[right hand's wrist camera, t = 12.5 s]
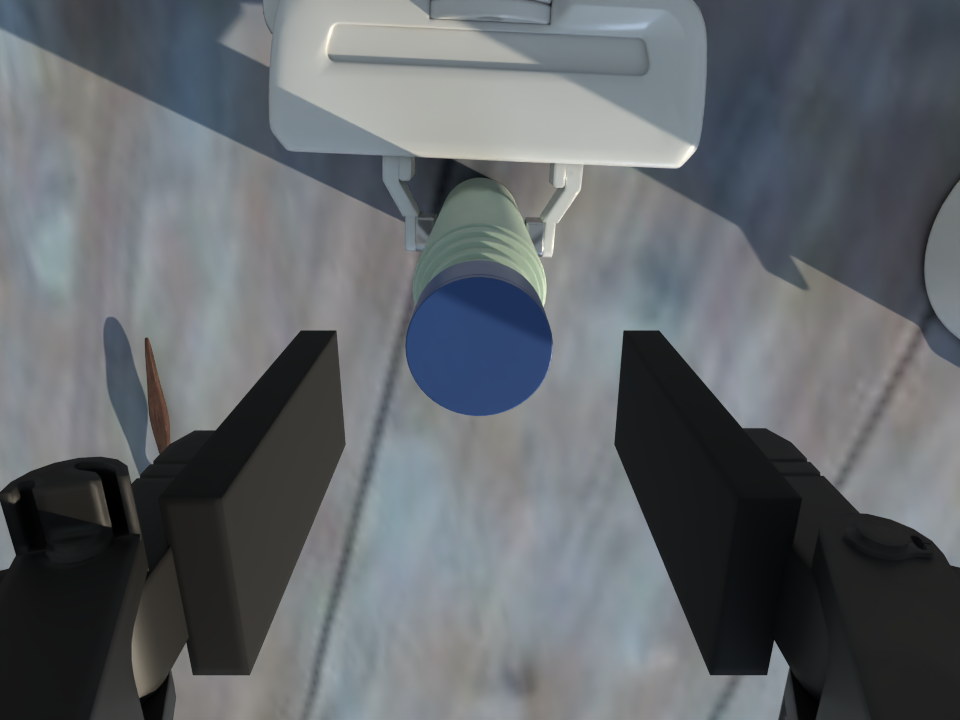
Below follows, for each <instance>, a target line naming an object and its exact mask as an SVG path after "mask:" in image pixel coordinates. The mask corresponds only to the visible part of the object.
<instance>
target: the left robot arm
mask: <svg viewBox="0 0 960 720" xmlns="http://www.w3.org/2000/svg"><path fill="white" fill-rule="evenodd" d="M263 13H264V18H265V21H266V24H267V27H268V29H269V30H270V32H271V34H272V43H271V54H270V68H269V123H270V128H271V131H272V132H273V134H274V135H275V136H276V138H277V139H278V140H279V142H280V143H281V144H282V145H283V146H284V147H285V149H287V150H288V151H295V152H316V153H339V154H361V155H382V172H383V182H384V184H385V186H386V187H387V189H388V191H389V193H390V194H391V196H392V198H393V200H394V202H395V203H396V205H397V207H398V209H399V210H400V212H401V214H402V216H405V248H406V251H422V252H423V250H424V247H425V245H426V243H427V241H428V238H429V236H430V234H431V231H432V229H433V227H434V225H435V222H436V220H437V214H436V213H421V210H420V208H419V207H418V205H417V203H416V201H415V199H414V197H413V195H412V193H411V191H410V189H409V187H408V186H407V184H406V182H405V181H409V180H410V179H412V178H413V177H414V176H415V157H428V158H450V159H473V160H495V161H517V162H540V163H550V172H549V182H550V183H551V184H552V185H553V186H554V187H555V188H558V189H557V190H556V192H555V193H554V195H553V197H552V198H551V200H550V201H549V203H548V204H547V206H546V207H545V209H544V211H543V212H542V214H541V215H540V218H531V217H524V224H525V226H526V229H527V231H528V233H529V236H530V238H531V240H532V243H533V245H534V247H535V250H536V252H537V254H538V257H552V254H553V246H554V234H555V223H558V222H559V221H560V219H561V218H562V216H563V215H564V213H565V212H566V210H567V209H568V208H569V206H570V205H571V203H572V202H573V200H574V199H575V197H576V196H577V194H578V193H579V191H580V190H581V183H582V173H583V164H584V165H607V166H629V167H651V168H679V167H681V166H682V165H683V164H684V163H685V162H686V161H687V160H688V159H689V158H690V157H691V156H692V154H693V153H694V152H695V151H696V150H697V148H698V146H699V142H700V138H701V132H702V125H703V117H704V107H705V95H706V78H707V34H706V27H705V22H704V19H703V16H702V13H701V11H700V9H699V7H698V6H697V4H696V3H695V2H694V0H263ZM924 276H925V285H926V290H927V294H928V297H929V301H930V303H931V306H932V308H933V310H934V312H935V313H936V315H937V317H938V318H939V320H940V321H941V322H942V323H943V325H944V326H945V327H946V328H947V329H948V330H949V331H950V332H951V333H953V334H954V335H955V336H956V337H957V338H958V339H960V180H959V181H958V183H957V184H956V185H955V187H954V188H953V189H952V191H951V192H950V194H949V195H948V197H947V198H946V200H945V202H944V203H943V205H942V207H941V209H940V211H939V213H938V215H937V217H936V219H935V221H934V224H933V226H932V229H931V232H930V235H929V239H928V243H927V247H926V253H925V262H924Z"/></svg>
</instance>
